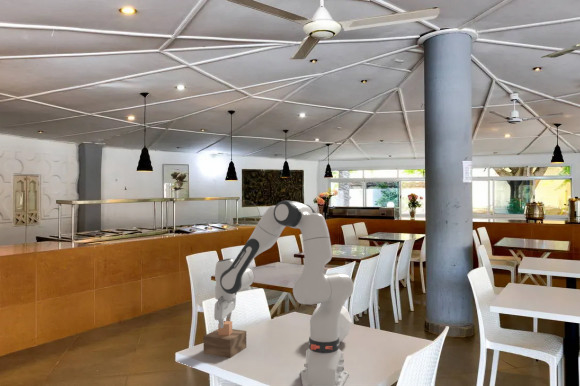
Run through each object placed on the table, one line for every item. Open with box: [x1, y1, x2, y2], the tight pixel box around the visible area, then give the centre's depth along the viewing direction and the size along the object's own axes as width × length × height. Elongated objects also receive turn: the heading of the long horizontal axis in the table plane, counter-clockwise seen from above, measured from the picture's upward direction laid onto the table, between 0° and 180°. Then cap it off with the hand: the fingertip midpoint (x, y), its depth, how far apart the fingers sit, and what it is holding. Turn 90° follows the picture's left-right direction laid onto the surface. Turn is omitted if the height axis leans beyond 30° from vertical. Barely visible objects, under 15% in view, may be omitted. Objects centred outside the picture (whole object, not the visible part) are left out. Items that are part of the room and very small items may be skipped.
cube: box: [217, 320, 233, 336], centre depth 196 cm, size 5×5×5 cm
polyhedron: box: [312, 303, 353, 343], centre depth 207 cm, size 19×20×20 cm
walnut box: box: [203, 328, 247, 359], centre depth 196 cm, size 14×14×8 cm
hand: (225, 324), depth 196 cm, fingers open, 8 cm apart
